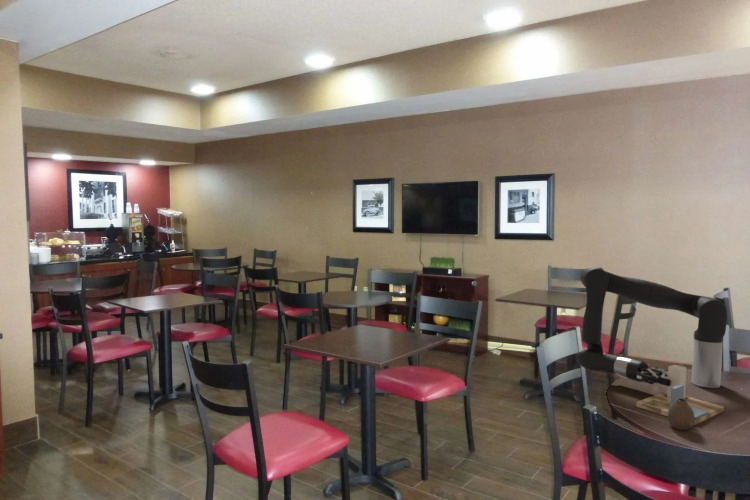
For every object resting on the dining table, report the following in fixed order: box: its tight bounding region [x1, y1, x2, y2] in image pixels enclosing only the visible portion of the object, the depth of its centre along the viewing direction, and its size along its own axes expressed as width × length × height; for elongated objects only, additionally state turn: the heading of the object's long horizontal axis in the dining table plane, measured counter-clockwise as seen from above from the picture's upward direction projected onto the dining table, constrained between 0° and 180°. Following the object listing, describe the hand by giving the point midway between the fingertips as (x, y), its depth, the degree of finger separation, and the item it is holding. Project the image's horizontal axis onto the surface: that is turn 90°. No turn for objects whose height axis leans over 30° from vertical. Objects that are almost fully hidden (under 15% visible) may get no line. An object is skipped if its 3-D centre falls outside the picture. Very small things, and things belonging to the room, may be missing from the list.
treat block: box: [666, 364, 687, 399], centre depth 175 cm, size 4×4×12 cm
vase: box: [667, 398, 695, 431], centre depth 154 cm, size 7×7×9 cm
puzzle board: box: [636, 390, 725, 426], centre depth 169 cm, size 20×18×2 cm
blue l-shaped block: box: [670, 384, 708, 419], centre depth 161 cm, size 8×8×7 cm
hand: (676, 380), depth 175 cm, fingers open, 8 cm apart
